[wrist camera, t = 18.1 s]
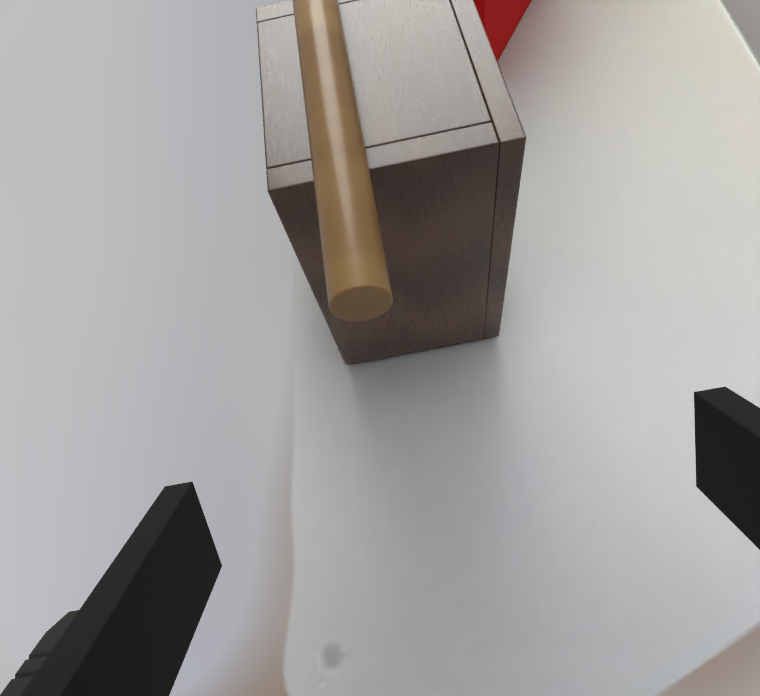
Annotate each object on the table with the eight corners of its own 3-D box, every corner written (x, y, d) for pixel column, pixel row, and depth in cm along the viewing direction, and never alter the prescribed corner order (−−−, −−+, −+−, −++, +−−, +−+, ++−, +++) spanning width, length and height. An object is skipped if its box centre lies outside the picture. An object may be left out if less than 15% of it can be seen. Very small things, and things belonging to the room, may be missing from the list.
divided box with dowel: (526, 432, 31) (357, 463, 32) (442, 133, 43) (319, 159, 43) (595, 240, 15) (256, 307, 16) (431, -154, 27) (237, -108, 28)
